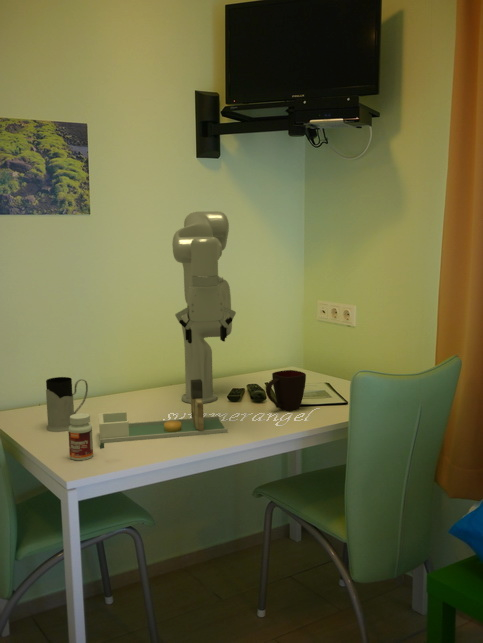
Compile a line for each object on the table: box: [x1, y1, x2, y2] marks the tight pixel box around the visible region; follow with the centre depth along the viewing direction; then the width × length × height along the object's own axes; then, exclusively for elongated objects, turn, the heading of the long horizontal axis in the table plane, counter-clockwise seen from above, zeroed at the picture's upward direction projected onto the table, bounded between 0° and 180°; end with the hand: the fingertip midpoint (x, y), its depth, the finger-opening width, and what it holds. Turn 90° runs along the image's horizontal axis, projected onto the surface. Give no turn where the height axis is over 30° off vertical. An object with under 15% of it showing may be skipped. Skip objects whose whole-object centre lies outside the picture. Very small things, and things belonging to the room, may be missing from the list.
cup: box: [265, 369, 307, 412], centre depth 218 cm, size 10×14×12 cm
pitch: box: [98, 410, 229, 449], centre depth 193 cm, size 14×36×6 cm, turn 103°
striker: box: [190, 379, 204, 431], centre depth 195 cm, size 14×3×14 cm, turn 13°
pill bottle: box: [67, 412, 94, 461], centre depth 176 cm, size 6×6×11 cm
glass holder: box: [45, 376, 89, 433], centre depth 204 cm, size 9×14×15 cm, turn 136°
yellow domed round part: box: [164, 421, 181, 432], centre depth 194 cm, size 5×5×2 cm
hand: (206, 341), depth 189 cm, fingers open, 9 cm apart
